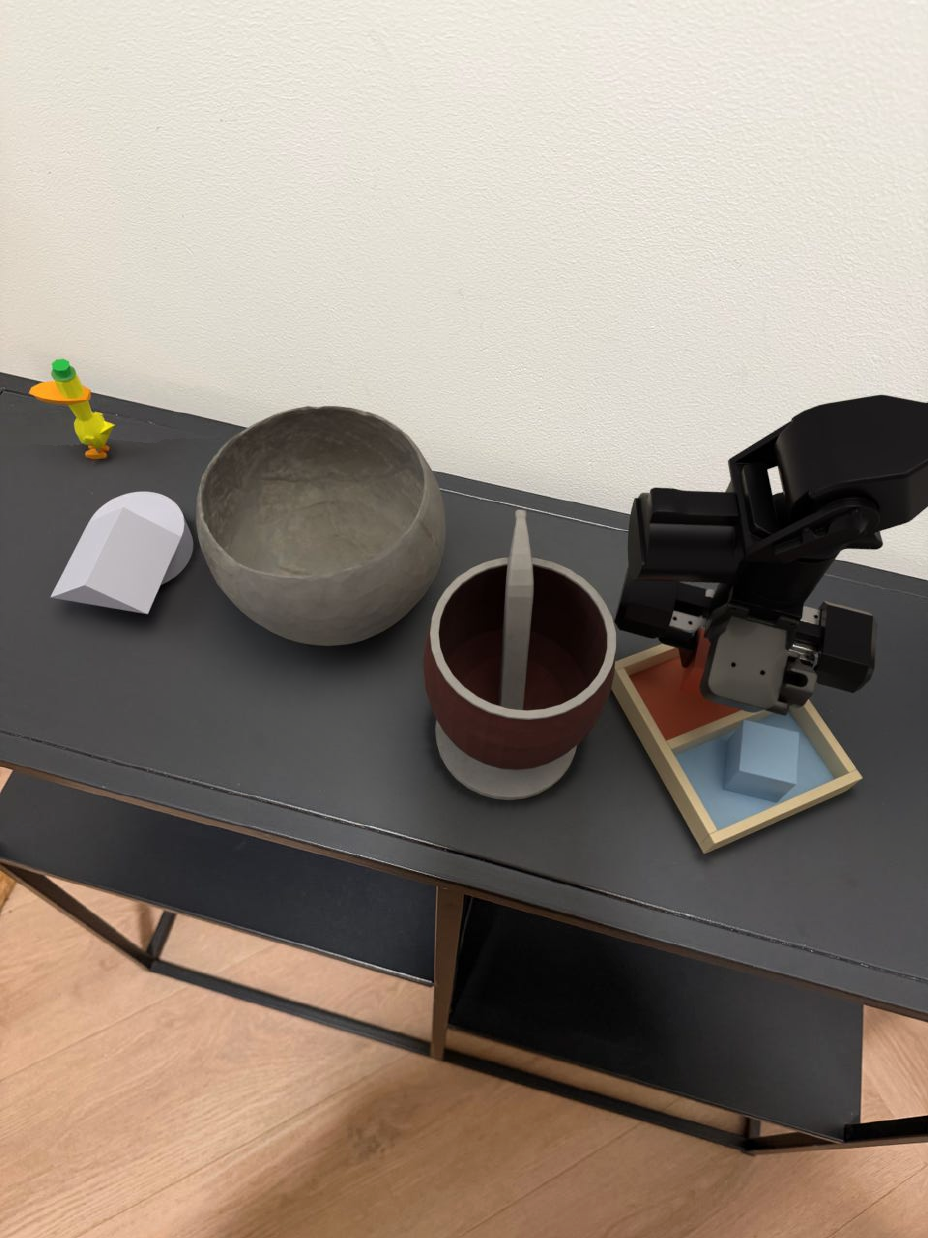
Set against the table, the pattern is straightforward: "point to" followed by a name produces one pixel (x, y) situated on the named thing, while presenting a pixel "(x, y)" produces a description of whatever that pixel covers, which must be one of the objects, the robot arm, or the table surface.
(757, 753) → the blue block
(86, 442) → the toy figure
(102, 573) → the wedge on round base
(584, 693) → the mate gourd
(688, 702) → the sorting tray
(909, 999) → the table surface
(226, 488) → the bowl
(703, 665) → the red block
